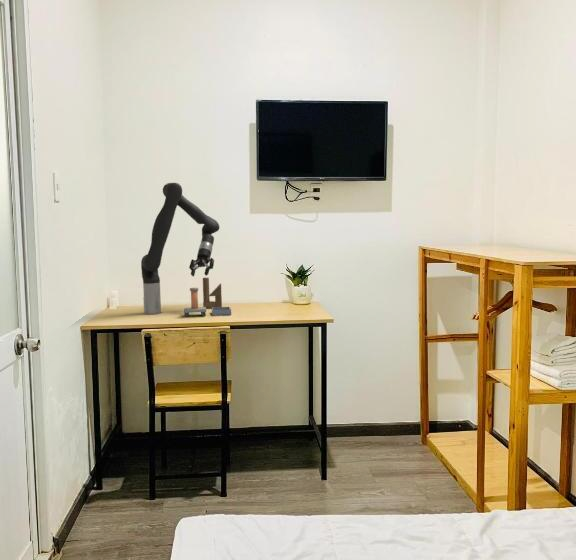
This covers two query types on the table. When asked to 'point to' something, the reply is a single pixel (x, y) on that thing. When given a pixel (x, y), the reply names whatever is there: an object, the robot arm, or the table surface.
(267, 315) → the table surface
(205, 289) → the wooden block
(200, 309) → the trolley
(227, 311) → the tray
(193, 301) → the stop pin
